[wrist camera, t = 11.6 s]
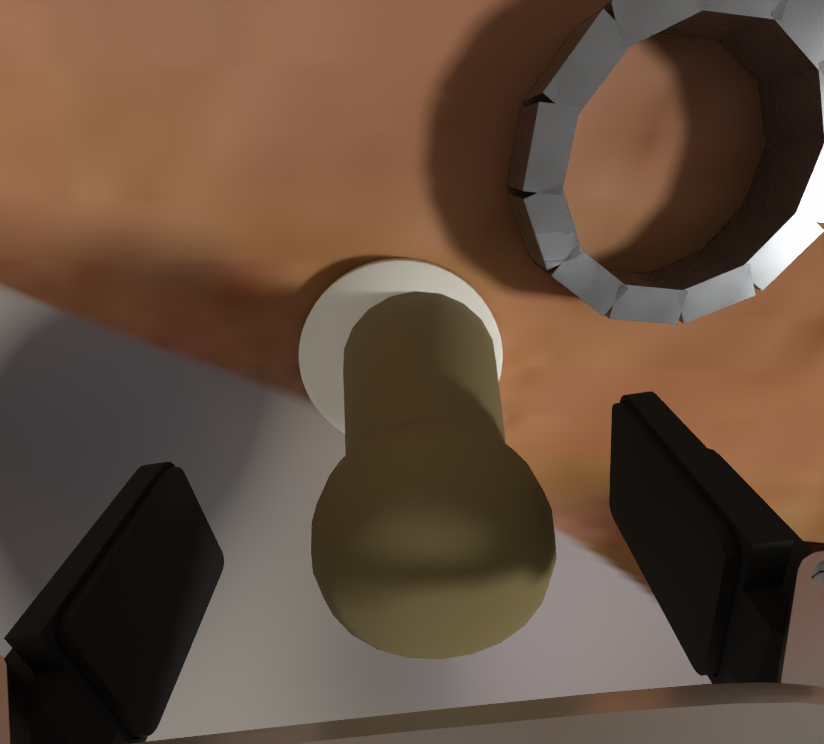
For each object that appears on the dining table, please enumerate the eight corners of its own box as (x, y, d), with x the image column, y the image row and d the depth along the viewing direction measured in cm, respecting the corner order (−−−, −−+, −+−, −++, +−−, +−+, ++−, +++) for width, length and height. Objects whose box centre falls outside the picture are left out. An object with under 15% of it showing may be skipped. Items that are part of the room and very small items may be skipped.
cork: (316, 325, 18) (207, 536, 8) (467, 266, 17) (556, 420, 7) (378, 450, 20) (354, 733, 10) (514, 403, 20) (630, 663, 10)
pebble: (266, 377, 20) (261, 386, 19) (374, 213, 17) (372, 215, 16) (422, 469, 22) (423, 479, 21) (539, 334, 19) (545, 341, 18)
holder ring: (454, 199, 17) (461, 205, 15) (662, -97, 14) (714, -147, 12) (645, 348, 20) (676, 373, 17) (860, 127, 16) (934, 123, 14)
